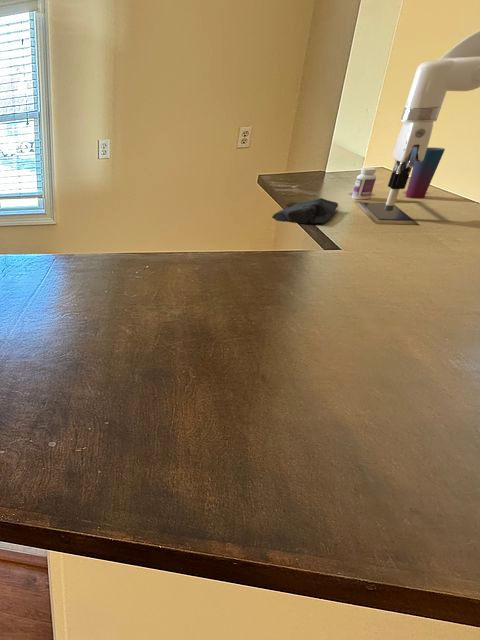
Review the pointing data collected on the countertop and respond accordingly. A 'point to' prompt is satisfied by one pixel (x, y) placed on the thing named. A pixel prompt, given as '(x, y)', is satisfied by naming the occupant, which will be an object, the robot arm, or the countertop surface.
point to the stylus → (391, 199)
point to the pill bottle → (364, 184)
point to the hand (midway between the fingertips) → (396, 187)
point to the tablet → (385, 214)
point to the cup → (424, 173)
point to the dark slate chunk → (308, 212)
